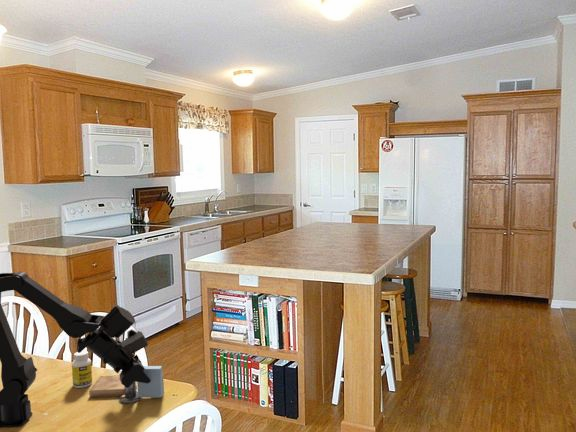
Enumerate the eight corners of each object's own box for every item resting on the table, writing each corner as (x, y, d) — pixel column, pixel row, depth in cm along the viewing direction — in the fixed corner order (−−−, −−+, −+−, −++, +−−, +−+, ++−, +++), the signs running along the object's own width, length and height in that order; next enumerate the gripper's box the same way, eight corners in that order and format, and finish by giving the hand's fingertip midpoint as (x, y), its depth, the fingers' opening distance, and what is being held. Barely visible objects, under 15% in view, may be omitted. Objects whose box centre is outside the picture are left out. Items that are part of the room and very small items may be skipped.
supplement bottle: (79, 390, 147) (77, 357, 146) (69, 385, 150) (67, 353, 149) (96, 383, 151) (94, 352, 150) (86, 379, 154) (84, 348, 153)
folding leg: (127, 397, 139) (126, 369, 139) (130, 394, 141) (129, 366, 141) (161, 397, 139) (160, 368, 138) (163, 394, 141) (162, 366, 140)
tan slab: (83, 405, 137) (81, 380, 136) (100, 382, 152) (99, 360, 151) (139, 403, 138) (137, 378, 137) (150, 380, 152) (149, 358, 152)
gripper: (135, 334, 126) (178, 370, 132) (123, 315, 142) (162, 348, 148) (102, 369, 123) (148, 404, 129) (94, 346, 139) (135, 378, 145)
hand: (149, 381), depth 138 cm, fingers closed
